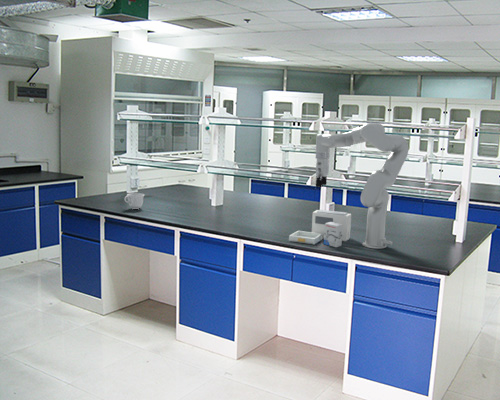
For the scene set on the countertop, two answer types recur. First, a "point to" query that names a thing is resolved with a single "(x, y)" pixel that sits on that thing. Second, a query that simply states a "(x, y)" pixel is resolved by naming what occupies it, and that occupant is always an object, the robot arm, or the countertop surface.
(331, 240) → the ink box
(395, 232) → the countertop surface
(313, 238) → the tray
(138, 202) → the teacup
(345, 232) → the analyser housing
